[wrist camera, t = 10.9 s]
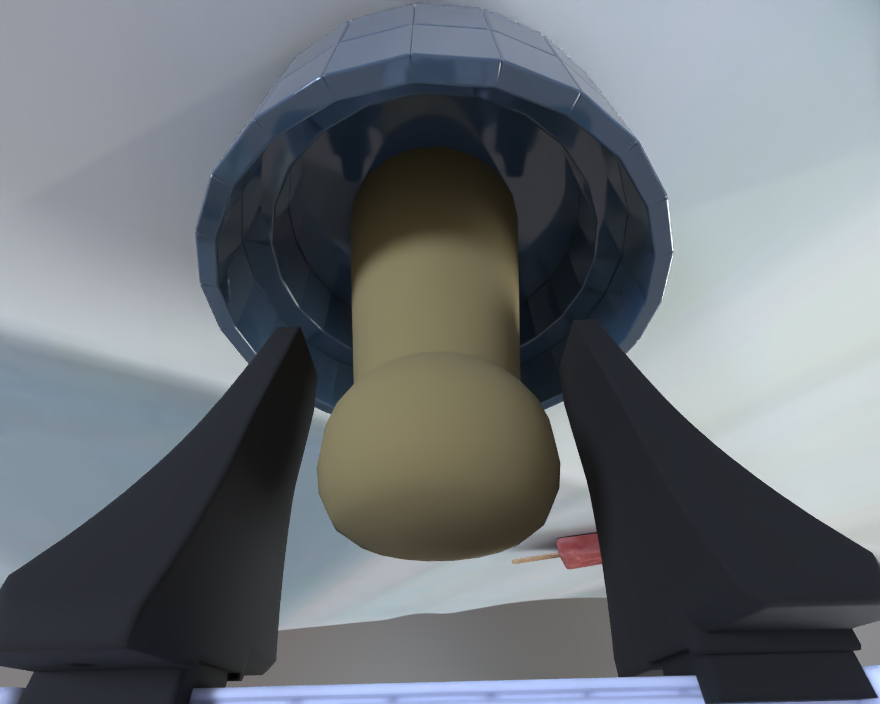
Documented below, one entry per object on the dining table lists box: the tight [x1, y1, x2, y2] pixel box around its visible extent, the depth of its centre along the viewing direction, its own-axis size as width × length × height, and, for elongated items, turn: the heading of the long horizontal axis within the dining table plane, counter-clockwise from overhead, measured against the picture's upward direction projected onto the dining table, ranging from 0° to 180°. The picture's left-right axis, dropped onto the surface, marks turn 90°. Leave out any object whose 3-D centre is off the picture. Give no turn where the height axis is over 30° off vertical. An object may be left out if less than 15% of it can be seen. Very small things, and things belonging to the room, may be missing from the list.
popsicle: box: [512, 533, 602, 569], centre depth 42 cm, size 4×2×15 cm
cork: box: [317, 147, 560, 561], centre depth 12 cm, size 6×6×11 cm
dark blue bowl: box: [195, 3, 674, 414], centre depth 14 cm, size 13×13×5 cm
